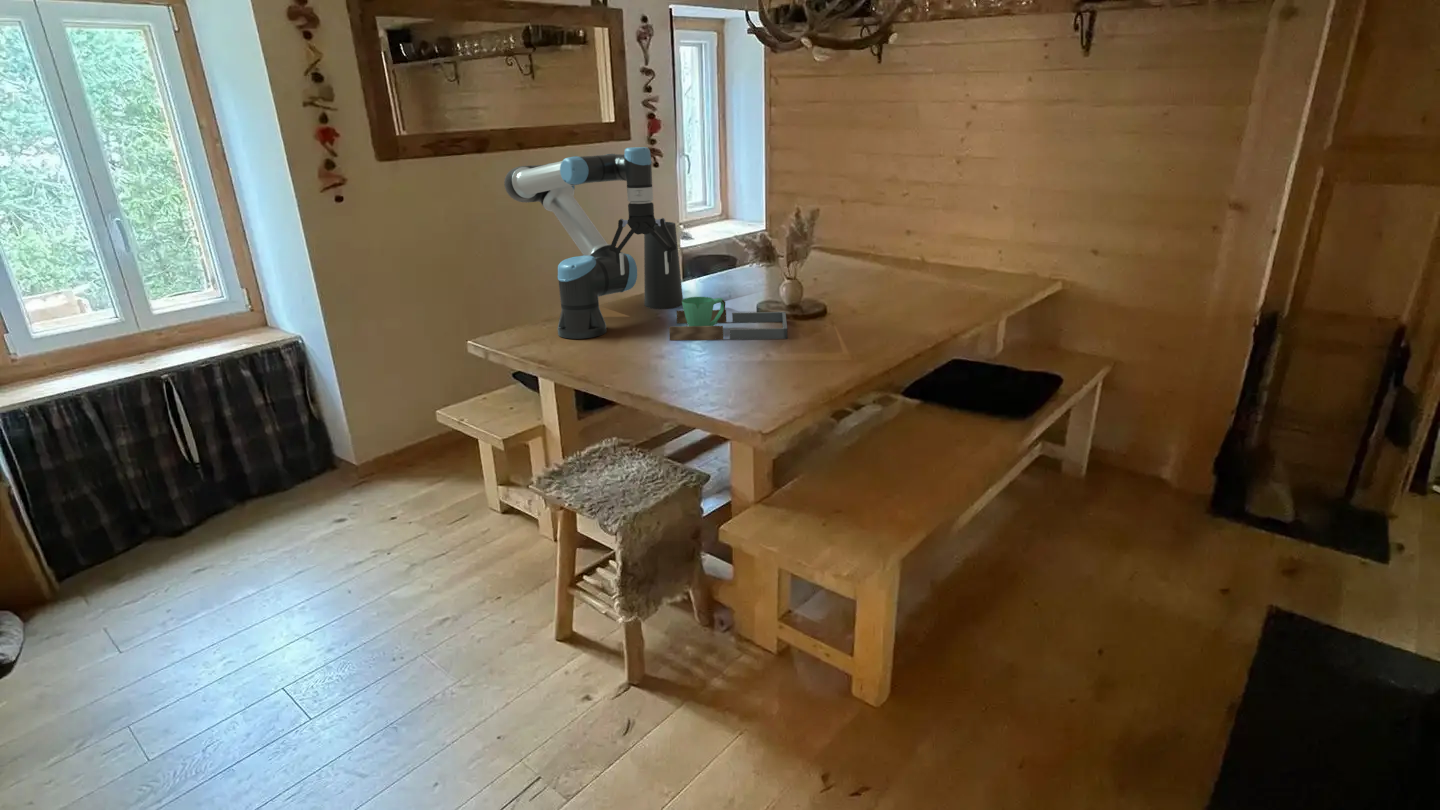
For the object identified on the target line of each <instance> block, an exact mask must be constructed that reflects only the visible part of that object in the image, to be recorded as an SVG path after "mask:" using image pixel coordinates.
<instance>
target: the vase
mask: <svg viewBox="0 0 1440 810" xmlns="http://www.w3.org/2000/svg"><path fill="white" fill-rule="evenodd" d="M665 223H666V226H667V228H668V230H669V232H670V234H671V236H672V237H673V239H674V241H675V243H676V245H677V248H676V249H675V250H673V251H672V252H671V254H672V261H671V262H670V263H668V265H669V273H668V274H665V256H664V252H665V251H666V250H665V249H664V247H663V246H662V245H661V244H660V243H659V242H658V241H657V240H656V239H655V237H654V236H652V235H651V233H649V234H643V235H644V236H643V238H644V240H643V243H644V244H643V245H644V247H643V249H644V251H643V252H644V253H643V254H644V256H643V259H644V260H643V261H644V262H643V263H644V266H643V267H644V268H643V269H644V270H643V271H644V278H643V280H644V285H643V286H644V306H645V308H648V309H652V308H653V310H669V309H675V308H679V307H682V306H683V305H682V300H683V299H684V297H683V287H682V277H681V267H680V257H679V246H678V245H679V244H678V236H677V227H676V223H675V222H673V221H672V222H671V221H665ZM653 228H654V229H655V230H656V231H657V233H658V234H659V235H660V236H661V237H662V238H663V239H664V240H665V242H666V243H667V244H668V245H669V246H671V245H670V243H669V241H668V239H667V237H666V236H665V234H664V232H663V230H662V228H661V226H659V225H658V224H657V223H656V224H655V226H654V227H653Z"/></svg>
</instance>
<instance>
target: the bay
mask: <svg viewBox="0 0 1440 810" xmlns="http://www.w3.org/2000/svg"><path fill="white" fill-rule="evenodd" d="M719 310H720V309H713V311H712V317H711V321H713V320H714V319H715V317H716V315H717V314H718V312H719ZM675 313H676V324H688V323H687V320H686V317H685V313H684V309H683V310H676V311H675ZM711 321H710V322H711ZM718 323H719V324H721V323H723V324H724V323H725V324H726V323H727V309H725V313H724V314H723V316H722V317H721V319H720V320H719V321H718ZM718 323H717V324H718ZM668 334H669V341H713V340H715V341H719V340H720V341H724V325H713V326H688V325H685V326H684V325H683V326H682V325H679V326H677V325H676V326H675V325H674V326H669V327H668Z"/></svg>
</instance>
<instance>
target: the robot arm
mask: <svg viewBox="0 0 1440 810" xmlns="http://www.w3.org/2000/svg"><path fill="white" fill-rule="evenodd" d="M651 156H652V155H651V150H650V148H649V147H647V146H641V147H639V146H637V147H635V146H634V147H626V148H624V154H621V153H619V154H617V153H607V154H602V155H601V154H600V155H585V156H577V155H575V156H570V157H565V158H563V160H561V161H556V162H552V163H547V164H537V165H536V164H535V165H521V166H516V167H514V168H511V169H510V170H508V172H507V173H506V175H505V177H504V189H505V191H506V193H507V195H508V196H509V197H510V198H511V199H513V200H514V201H517V202H519V203H536V202H537V203H538V202H539V203H540V204H541V206H542V207H543V208H544V209H545V210H546V211H548V212H552V214H554V216H555V217H556V219H557V220H558V221H559V223H560V224H561V225H562V227H563V229H564V230H565V231H566V233H567V234H568V236H569V238H571V240H572V241H573V242H574V243H575V246H576V247H577V248H578V250H579V251H580V252H581V254H582V255H579V256H573V257H569V258H568V257H567V258H565V259H563V260H561V261H560V263H559V264H558V265H557V280H558V287H559V288H558V290H559V298H560V299H559V300H560V309H561V310H560V311H561V312H560V316H559V320H558V323H557V324H558V325H557V335H558V336H559V337H561V338H564V339H572V340H576V339H580V340H581V339H582V340H583V339H590V338H595V337H600V336H602V335H604V334H606V333H607V323H606V321H605V319H604V316H603V314H602V312H601V309H600V303H599V297H602V296H606V295H612V294H618V293H625V292H627V291H630V290H631V289H632V288H634V286H635V284H636V282H637V280H638V268H637V267H638V265H637V264H636V261H635V258H634V257H633V256H632V255H631V254H629V253H624V251H622V249H623V248H624V247H625V245H627V244H628V242H629V240H631V238H632V236H633V235H634V234H636V235H637V236H638V235H639V236H640V235H644V234H649V233H651V235H652V236H654V237H655V239H656V240H657V241H658V242H659V243H660V244H661V245H662V246H663V247H664V249H665V250H666V251H665V252H664V256H665V274H668V273H669V265H668V263H670V262H671V261H672V254H671V252H672V251H673V250H675V249H676V248H677V245H678V244H677V245H676V243H675V241H674V239H673V237H672V236H671V234H670V232H669V230H668V228H667V226H666V223H665V222H666V219H665V218H664V217H661V218H658V219H656V218H655V209H654V208H655V207H654V206H655V205H654V202H652V201H654V189H653V187H654V186H653V172H652V170H653V169H652V164H653V163H652V157H651ZM613 181H614V182H616V181H621V182H622V181H625V182H626V191H627V192H626V193H627V201H628V202H629V203H628V204H627V207H628V208H627V209H628V219H623V218H620V219H619V220H618V222H617V224H618V225H617V230H616V232H615V234H614V235H613V239H612V241H611V243H610V244H609V243H608V242H607V241H606V239H605V238H604V237H603V235H602V234H601V232H600V231H599V230H598V229H597V227H596V225H595V224H594V223H593V222H592V220H591V219H590V217H589V216H588V214H587V213H586V211H585V210H584V209H583V207H582V206H581V205H580V204H579V201H577V199H576V198H575V187H576V186H580V185H584V184H591V183H592V184H593V183H603V182H605V183H606V182H613ZM656 223H657V224H658V225H659V226H661V228H662V230H663V232H664V234H665V236H666V237H667V239H668V241H669V243H670V245H671V246H669V245H668V244H667V243H666V242H665V240H664V239H663V238H662V237H661V236H660V235H659V234H658V233H657V231H656V230H655V229H654V228H653V227H654V226H655V224H656ZM626 225H628V227H629V228H630V230H629V232H627V234H626V236H625V237H624V238H623V240H622V241H621V243H620V244H619V245H618V247H616V246H617V244H618V241H619V240H620V239H619V238H620V236H621V235H622V232H623V230H624V229H623V228H625V227H626Z"/></svg>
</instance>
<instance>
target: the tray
mask: <svg viewBox="0 0 1440 810" xmlns="http://www.w3.org/2000/svg"><path fill="white" fill-rule="evenodd" d="M731 314H732V317H731V318H732V322H731V323H733V324H736V323H782V327H779V328H778V327H774V328H773V327H771V328H770V327H769V328H762V327H761V328H729V340H731V341H732V340H787V339H788V324H787V315H786V311H762V312H761V311H759V312H756V311H755V312H753V311H752V312H750V311H749V312H732V313H731Z"/></svg>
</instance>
